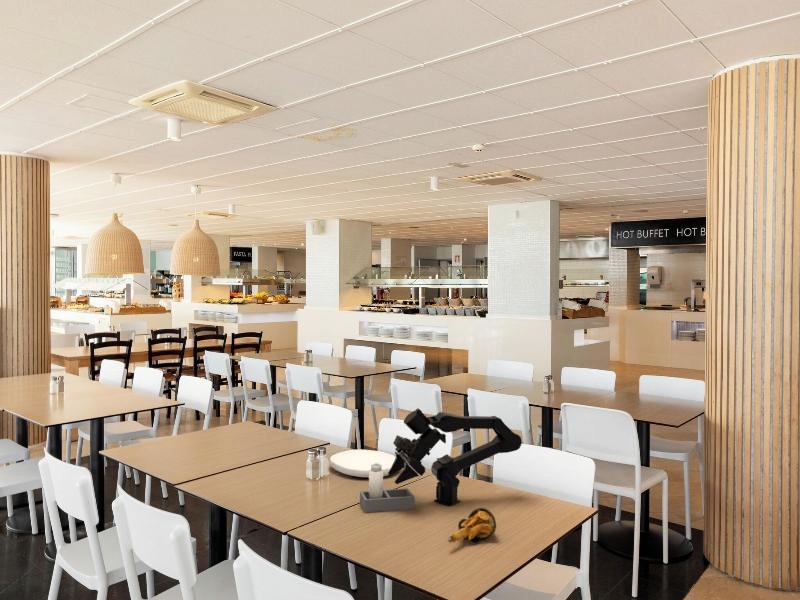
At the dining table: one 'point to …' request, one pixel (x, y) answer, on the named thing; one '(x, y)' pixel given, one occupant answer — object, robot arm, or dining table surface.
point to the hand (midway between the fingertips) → (392, 478)
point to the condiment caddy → (388, 501)
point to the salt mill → (375, 481)
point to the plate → (361, 462)
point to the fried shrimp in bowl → (475, 527)
